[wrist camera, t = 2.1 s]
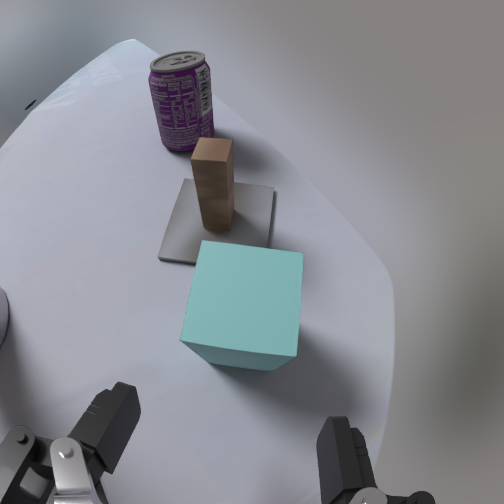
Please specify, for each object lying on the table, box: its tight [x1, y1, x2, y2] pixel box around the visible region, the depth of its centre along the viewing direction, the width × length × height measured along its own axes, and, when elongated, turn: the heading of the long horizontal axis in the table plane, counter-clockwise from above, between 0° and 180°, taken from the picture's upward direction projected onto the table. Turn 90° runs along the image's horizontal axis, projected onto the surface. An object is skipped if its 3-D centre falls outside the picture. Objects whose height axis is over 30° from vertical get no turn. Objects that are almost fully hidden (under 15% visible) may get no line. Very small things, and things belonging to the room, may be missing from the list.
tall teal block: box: [180, 240, 303, 371], centre depth 17 cm, size 5×5×11 cm
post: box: [158, 137, 274, 264], centre depth 23 cm, size 10×10×10 cm
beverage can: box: [148, 51, 214, 151], centre depth 28 cm, size 7×7×12 cm
